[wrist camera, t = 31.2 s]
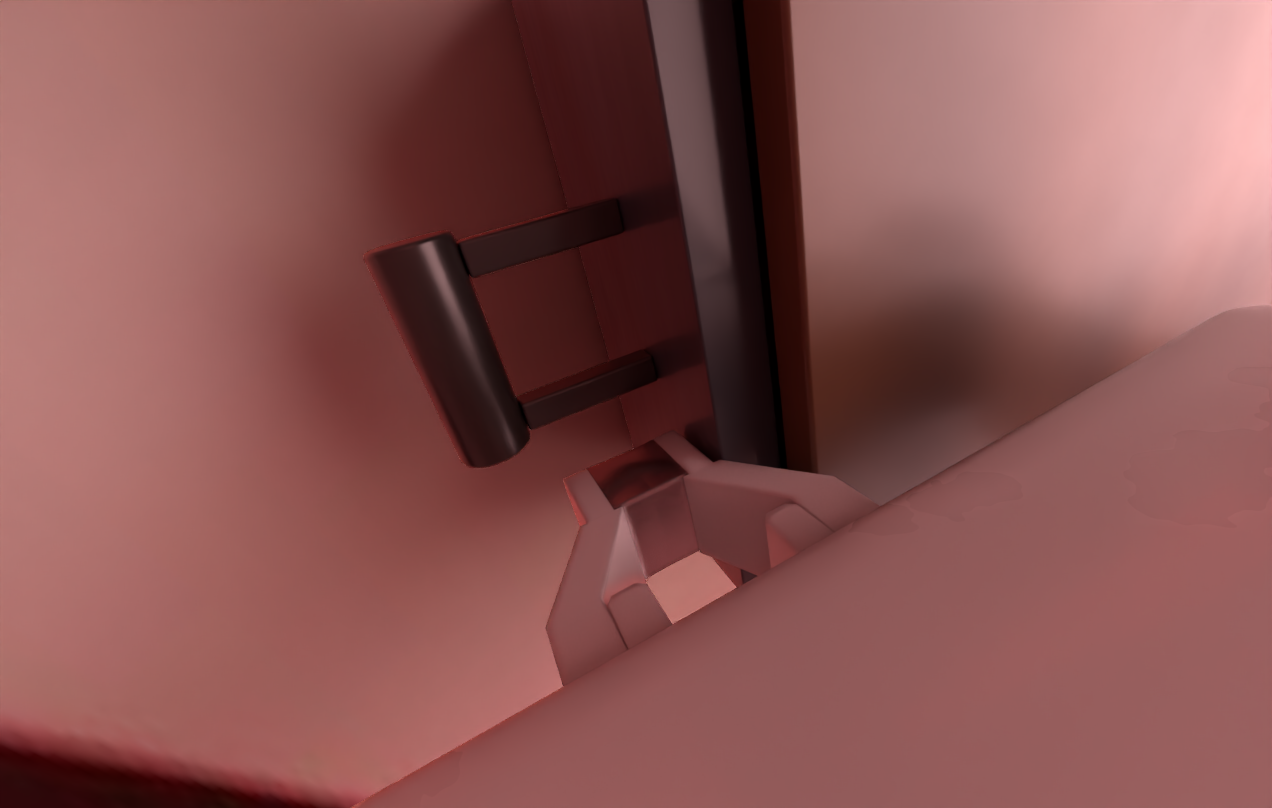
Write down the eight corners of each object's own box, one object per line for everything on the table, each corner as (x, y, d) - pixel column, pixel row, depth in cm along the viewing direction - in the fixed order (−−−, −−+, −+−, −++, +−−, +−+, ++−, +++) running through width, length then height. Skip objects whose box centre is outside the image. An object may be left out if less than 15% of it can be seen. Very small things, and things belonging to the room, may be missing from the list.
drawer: (509, 527, 14) (558, 704, 9) (264, -8, 8) (22, -336, 3) (970, 322, 19) (1169, 363, 14) (1015, -107, 13) (1383, -302, 8)
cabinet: (663, 457, 16) (824, 622, 10) (538, -63, 10) (748, -556, 4) (987, 313, 20) (1255, 363, 14) (1040, -125, 14) (1575, -412, 8)
